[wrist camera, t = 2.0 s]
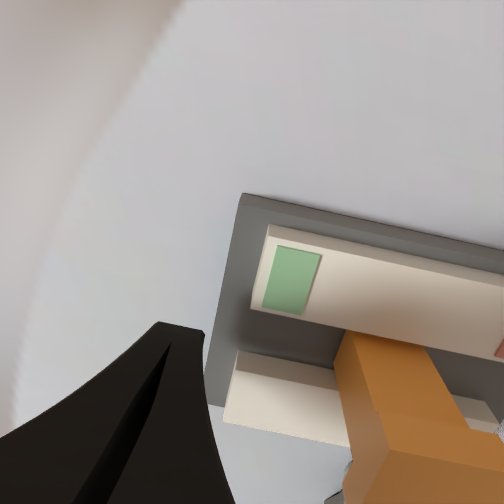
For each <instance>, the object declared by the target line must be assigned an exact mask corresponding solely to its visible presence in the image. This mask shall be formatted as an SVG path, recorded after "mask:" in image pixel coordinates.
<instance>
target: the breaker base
mask: <svg viewBox="0 0 504 504" xmlns="http://www.w3.org/2000/svg"><path fill="white" fill-rule="evenodd" d="M346 329H348V330H352V331H357V332H362V333H366V334H371V335H376V336H381V337H385V338H390V339H395V340H399V341H404V342H409V343H414V344H418V345H423V346H424V348H425V350H426V352H427V353H428V355H429V357H430V359H431V361H432V362H433V364H434V366H435V368H436V369H437V371H438V373H439V375H440V376H441V378H442V380H443V382H444V383H445V385H446V387H447V389H448V390H449V392H450V394H451V396H452V397H453V399H454V401H455V403H456V405H457V406H458V408H459V410H460V412H461V413H462V415H463V417H464V419H465V420H466V422H467V424H468V426H469V427H470V429H474V430H479V431H484V432H489V433H495V432H496V430H497V429H498V427H499V426H500V423H501V422H502V420H503V419H504V251H502V250H497V249H493V248H488V247H484V246H479V245H475V244H470V243H466V242H461V241H457V240H452V239H448V238H443V237H439V236H434V235H430V234H425V233H421V232H416V231H412V230H407V229H403V228H398V227H393V226H389V225H384V224H380V223H375V222H371V221H366V220H362V219H357V218H353V217H348V216H344V215H339V214H335V213H330V212H326V211H321V210H317V209H312V208H308V207H303V206H299V205H294V204H290V203H285V202H281V201H276V200H272V199H267V198H263V197H258V196H254V195H249V194H245V193H242V195H241V198H240V201H239V204H238V209H237V214H236V219H235V224H234V229H233V234H232V238H231V243H230V248H229V253H228V258H227V263H226V268H225V273H224V278H223V283H222V288H221V293H220V298H219V303H218V308H217V313H216V318H215V323H214V328H213V333H212V338H211V343H210V347H209V352H208V357H207V362H206V367H205V372H204V384H205V393H206V399H207V404H210V405H215V406H220V407H225V410H224V416H223V422H227V423H232V424H237V425H242V426H247V427H251V428H256V429H261V430H266V431H271V432H276V433H281V434H286V435H291V436H296V437H301V438H306V439H311V440H316V441H321V442H325V443H330V444H335V445H340V446H345V447H350V443H349V438H348V434H347V429H346V424H345V419H344V414H343V409H342V404H341V399H340V395H339V390H338V385H337V380H336V375H335V370H334V365H333V362H334V360H335V357H336V355H337V352H338V349H339V347H340V344H341V342H342V339H343V336H344V334H345V331H346Z"/></svg>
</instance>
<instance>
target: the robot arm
mask: <svg viewBox="0 0 504 504" xmlns="http://www.w3.org/2000/svg"><path fill="white" fill-rule="evenodd" d="M204 338H205V334H204V333H203V331H202V330H198V329H193V328H188V327H183V326H178V325H174V324H169V323H164V322H157V323H155V324H154V325H153V326H152V327H151V328H150V329H149V330H148V331H147V332H146V333H145V334H144V335H143V336H142V337H141V338H140V339H138V340H137V341H136V342H135V343H134V344H133V345H132V346H131V347H130V348H129V349H127V350H126V351H125V352H124V353H123V354H122V355H120V356H119V357H118V358H117V359H116V360H114V361H113V362H112V363H111V364H110V365H109V366H107V367H106V368H105V369H104V370H102V371H101V372H100V373H98V374H97V375H96V376H94V377H93V378H92V379H91V380H89V381H88V382H87V383H85V384H84V385H83V386H81V387H80V388H79V389H77V390H76V391H74V392H73V393H72V394H70V395H69V396H67V397H66V398H64V399H63V400H61V401H60V402H59V403H57V404H56V405H54V406H52V407H51V408H49V409H48V410H46V411H45V412H43V413H42V414H40V415H38V416H37V417H35V418H34V419H32V420H30V421H28V422H27V423H25V424H23V425H22V426H20V427H18V428H17V429H15V430H13V431H12V432H10V433H8V434H6V435H5V436H3V437H1V438H0V504H235V501H234V498H233V496H232V493H231V490H230V487H229V485H228V482H227V479H226V476H225V473H224V469H223V466H222V463H221V460H220V456H219V453H218V449H217V445H216V442H215V438H214V434H213V430H212V425H211V421H210V416H209V410H208V405H207V399H206V393H205V384H204V375H203V343H204Z"/></svg>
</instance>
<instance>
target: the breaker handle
mask: <svg viewBox="0 0 504 504" xmlns="http://www.w3.org/2000/svg"><path fill="white" fill-rule="evenodd" d="M333 365H334V370H335V375H336V380H337V385H338V390H339V395H340V399H341V404H342V409H343V414H344V419H345V424H346V429H347V434H348V438H349V443H350V448H351V453H352V458H353V462H352V464H351V466H350V468H349V470H348V472H347V474H346V477H345V479H344V481H343V483H342V485H343V491H344V497H345V503H346V504H504V443H503V442H502V440H501V439H500V437H499V436H498V434H494V433H489V432H484V431H479V430H474V429H470V427H469V426H468V424H467V422H466V420H465V419H464V417H463V415H462V413H461V412H460V410H459V408H458V406H457V405H456V403H455V401H454V399H453V397H452V396H451V394H450V392H449V390H448V389H447V387H446V385H445V383H444V382H443V380H442V378H441V376H440V375H439V373H438V371H437V369H436V368H435V366H434V364H433V362H432V361H431V359H430V357H429V355H428V353H427V352H426V350H425V348H424V346H423V345H418V344H414V343H409V342H404V341H399V340H395V339H390V338H385V337H381V336H376V335H371V334H366V333H362V332H357V331H352V330H348V329H346V331H345V334H344V336H343V339H342V342H341V344H340V347H339V349H338V352H337V355H336V357H335V360H334V362H333Z"/></svg>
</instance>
